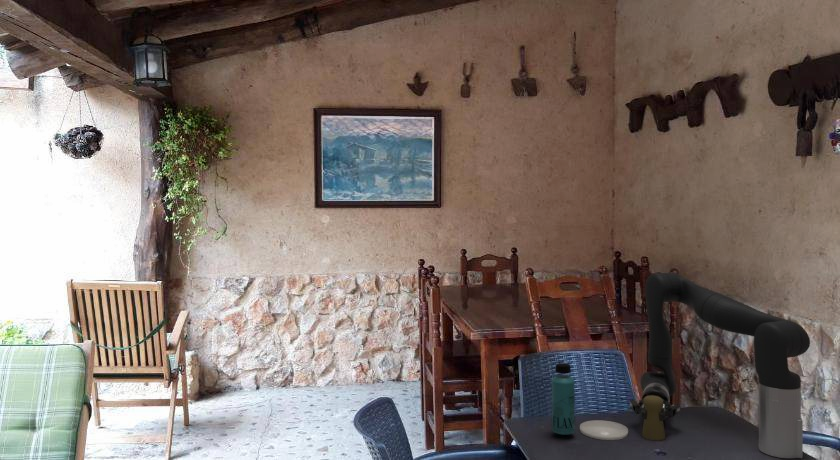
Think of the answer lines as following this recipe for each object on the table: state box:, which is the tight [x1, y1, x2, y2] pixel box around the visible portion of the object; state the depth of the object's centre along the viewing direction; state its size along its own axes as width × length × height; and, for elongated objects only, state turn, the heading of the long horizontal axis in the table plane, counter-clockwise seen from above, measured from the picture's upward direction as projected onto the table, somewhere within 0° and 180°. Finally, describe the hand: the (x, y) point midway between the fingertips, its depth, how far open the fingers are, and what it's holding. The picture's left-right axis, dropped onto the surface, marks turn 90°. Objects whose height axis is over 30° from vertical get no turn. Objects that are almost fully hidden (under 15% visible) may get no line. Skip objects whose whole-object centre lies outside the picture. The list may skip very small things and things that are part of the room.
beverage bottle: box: [550, 362, 576, 435], centre depth 168 cm, size 6×7×20 cm
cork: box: [641, 395, 666, 441], centre depth 167 cm, size 6×6×11 cm
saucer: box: [579, 419, 629, 441], centre depth 171 cm, size 13×13×1 cm
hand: (652, 416), depth 165 cm, fingers closed on cork, 3 cm apart
